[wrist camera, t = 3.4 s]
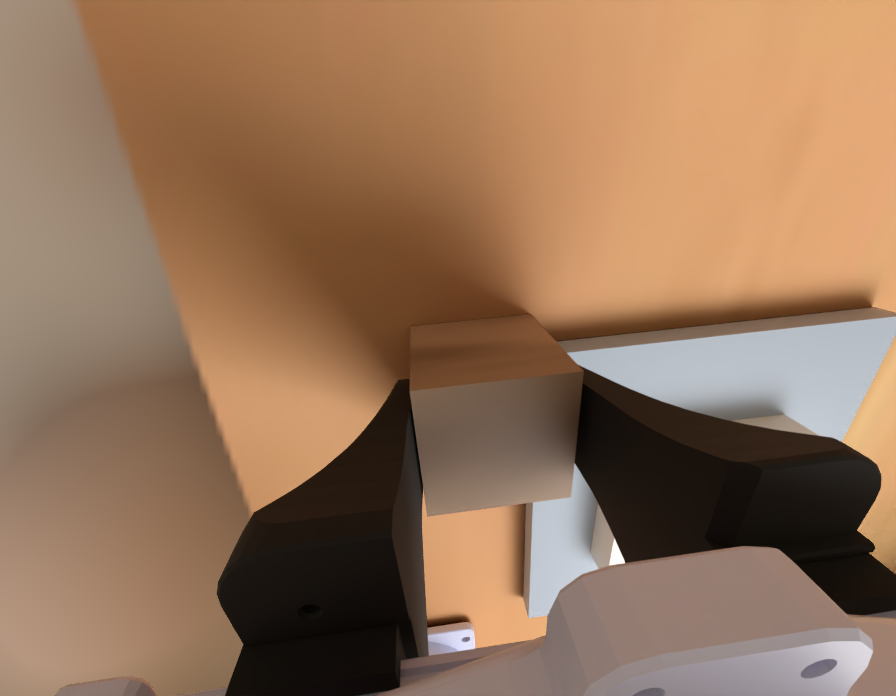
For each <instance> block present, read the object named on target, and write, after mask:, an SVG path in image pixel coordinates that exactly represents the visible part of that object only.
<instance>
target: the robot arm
mask: <svg viewBox="0 0 896 696" xmlns="http://www.w3.org/2000/svg"><path fill="white" fill-rule="evenodd" d="M578 366H579V367H580V368H581V369H582V370H583V371H584V374H583V384H582V394H581V404H580V414H579V423H578V433H577V443H576V453H575V464H576V466H577V468H578V469H579V471H580V473H581V474H582V476H583V478H584V479H585V481H586V483H587V484H588V486H589V487H590V489H591V491H592V493H593V495H594V496H595V498H596V500H597V502H598V504H599V506H600V508H601V510H602V513H603V515H604V517H605V519H606V521H607V523H608V525H609V527H610V530H611V532H612V534H613V536H614V539H615V541H616V543H617V545H618V548H619V550H620V552H621V554H622V557H623V559H624V561H625V563H623V564H616V565H610V566H607V567H603V568H600V569H597V570H594V571H591V572H587V573H584V574H581V575H580V576H579V577H577V578H576V579H575V580H573V581H572V582H571V583H569V584H568V585H566V586H565V587H564V588H562V589H561V590H560V591H559V593H558V595H557V597H556V599H555V601H554V603H553V605H552V607H551V609H550V612H549V614H548V617H547V630H546V635H545V636H542V637H539V638H536V639H534V640H528V641H522V642H515V643H509V644H502V645H496V646H489V647H483V648H476V649H475V639H474V629H473V625H472V624H471V623H469V622H462V623H455V624H449V625H442V626H435V627H429V628H427V616H426V598H425V580H424V561H423V540H422V498H423V482H422V475H421V468H420V461H419V454H418V447H417V440H416V433H415V426H414V419H413V412H412V405H411V398H410V379H404V380H398V382H397V383H396V384H395V386H394V388H393V390H392V391H391V393H390V395H389V396H388V398H387V400H386V401H385V403H384V404H383V406H382V407H381V408H380V410H379V411H378V413H377V414H376V416H375V417H374V418H373V420H372V421H371V422H370V423H369V425H368V426H367V427H366V428H365V430H364V431H363V432H362V433H361V434H360V435H359V437H358V438H357V439H356V440H355V441H354V442H353V443H352V444H351V445H350V446H349V447H348V448H347V449H346V450H345V451H343V452H342V453H341V454H340V455H339V456H338V457H336V458H335V459H334V460H333V461H332V462H331V463H329V464H328V465H327V466H326V467H325V468H323V469H322V470H321V471H319V472H318V473H317V474H315V475H314V476H313V477H311V478H310V479H308V480H307V481H305V482H304V483H302V484H301V485H300V486H298V487H297V488H295V489H293V490H292V491H290V492H289V493H287V494H285V495H284V496H282V497H280V498H279V499H277V500H275V501H273V502H272V503H270V504H268V505H267V506H265V507H263V508H261V509H260V510H258V511H256V512H254V513H253V515H252V517H251V519H250V520H249V522H248V524H247V525H246V527H245V529H244V530H243V532H242V534H241V536H240V538H239V540H238V542H237V544H236V546H235V548H234V550H233V552H232V554H231V556H230V558H229V561H228V563H227V565H226V567H225V569H224V571H223V573H222V575H221V577H220V579H219V581H218V589H217V595H218V599H219V601H220V604H221V607H222V608H223V610H224V612H225V614H226V615H227V617H228V619H229V620H230V622H231V624H232V626H233V627H234V629H235V631H236V632H237V634H238V636H239V637H240V639H241V641H242V643H243V644H244V645H243V647H242V650H241V653H240V656H239V658H238V661H237V664H236V666H235V669H234V672H233V675H232V677H231V680H230V683H229V686H228V687H224V688H217V689H211V690H204V691H198V692H191V693H185V694H179V695H172V696H896V575H895V574H894V573H893V572H892V571H890V570H889V569H888V568H887V567H885V566H884V565H883V564H882V563H880V562H879V561H878V560H877V559H875V558H874V557H873V556H872V555H870V554H869V553H870V552H873V551H874V549H875V546H874V544H873V543H872V542H871V541H870V540H869V539H867V538H866V537H865V536H863V535H862V534H861V533H859V532H858V531H857V529H858V527H859V526H860V524H861V523H862V521H863V519H864V518H865V516H866V514H867V513H868V511H869V509H870V508H871V506H872V505H873V503H874V501H875V499H876V497H877V495H878V493H879V491H880V488H881V473H880V471H879V468H878V466H877V464H875V463H874V462H873V461H872V460H870V459H869V458H867V457H866V456H864V455H862V454H861V453H859V452H857V451H856V450H854V449H852V448H851V447H849V446H847V445H846V444H844V443H842V442H841V441H839V440H837V439H835V438H832V437H825V436H817V435H810V434H803V433H796V432H789V431H781V430H775V429H769V428H764V427H759V426H753V425H748V424H743V423H738V422H734V421H729V420H725V419H721V418H717V417H713V416H709V415H705V414H701V413H697V412H694V411H691V410H687V409H684V408H681V407H678V406H675V405H672V404H669V403H665V402H662V401H660V400H657V399H654V398H651V397H649V396H646V395H644V394H641V393H639V392H637V391H634V390H632V389H629V388H627V387H625V386H622V385H620V384H618V383H616V382H614V381H611V380H609V379H607V378H605V377H603V376H601V375H599V374H597V373H595V372H593V371H590V370H588V369H586V368H584V367H582V366H580V365H578ZM55 696H157V695H156V693H155V691H154V689H153V687H152V686H151V685H150V684H149V683H148V682H146V681H145V680H143V679H141V678H137V677H117V678H110V679H103V680H97V681H90V682H83V683H77V684H71V685H66V686H64V687H62V688H60V689H59V690H58V692H57V693H56V695H55Z"/></svg>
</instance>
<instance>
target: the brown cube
mask: <svg viewBox="0 0 896 696" xmlns="http://www.w3.org/2000/svg"><path fill="white" fill-rule="evenodd" d="M583 374H584V371H583V370H582V369H581V368H580V367H579V366H578V364H577V363H576V362H575V361H574V360H573V359H572V358H571V357H570V356H569V355H568V354H567V353H566V352H565V350H564V349H563V348H562V347H561V346H560V345H559V344H558V343H557V342H556V341H555V340H554V339H553V338H552V336H551V335H550V334H549V333H548V332H547V331H546V330H545V329H544V328H543V327H542V326H541V325H540V324H539V322H538V321H537V320H536V319H535V318H534V317H533V316H532V315H531V314H524V315H514V316H505V317H495V318H486V319H476V320H466V321H457V322H447V323H438V324H428V325H419V326H410V398H411V405H412V412H413V419H414V426H415V433H416V440H417V447H418V454H419V461H420V468H421V475H422V482H423V489H424V496H425V503H426V510H427V517H428V516H435V515H442V514H450V513H457V512H465V511H472V510H480V509H487V508H495V507H502V506H510V505H517V504H525V503H532V502H540V501H547V500H554V499H562V498H569V497H571V493H572V483H573V473H574V463H575V453H576V443H577V433H578V423H579V414H580V404H581V394H582V384H583Z"/></svg>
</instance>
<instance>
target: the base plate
mask: <svg viewBox="0 0 896 696" xmlns="http://www.w3.org/2000/svg"><path fill="white" fill-rule="evenodd" d="M895 335H896V313H894V312H890V311H887V310H883V309H879V308H875V307H870V308H861V309H852V310H843V311H834V312H824V313H815V314H806V315H797V316H787V317H778V318H769V319H760V320H750V321H741V322H732V323H723V324H714V325H704V326H695V327H686V328H677V329H667V330H658V331H649V332H640V333H631V334H621V335H612V336H603V337H594V338H584V339H575V340H566V341H557V343H558V344H559V345H560V346H561V347H562V348H563V349H564V350H565V352H566V353H567V354H568V355H569V356H570V357H571V358H572V359H573V360H574V361H575V362H576V363H577V364H578V365H580V366H582V367H584V368H586V369H588V370H590V371H593V372H595V373H597V374H599V375H601V376H603V377H605V378H607V379H609V380H611V381H614V382H616V383H618V384H620V385H622V386H625V387H627V388H629V389H632V390H634V391H637V392H639V393H641V394H644V395H646V396H649V397H651V398H654V399H657V400H660V401H662V402H665V403H669V404H672V405H675V406H678V407H681V408H684V409H687V410H691V411H694V412H697V413H701V414H705V415H709V416H713V417H717V418H721V419H725V420H729V421H734V422H738V423H743V424H748V425H753V426H759V427H764V428H769V429H775V430H781V431H789V432H796V433H803V434H810V435H817V436H825V437H832V438H835V439H837V440H839V441H841V442H842V440H843V438H844V436H845V434H846V432H847V430H848V428H849V426H850V425H851V423H852V421H853V419H854V417H855V415H856V413H857V411H858V409H859V407H860V405H861V403H862V401H863V399H864V397H865V395H866V393H867V391H868V389H869V387H870V385H871V383H872V381H873V379H874V377H875V375H876V373H877V371H878V369H879V367H880V365H881V363H882V361H883V359H884V357H885V355H886V353H887V351H888V349H889V347H890V345H891V343H892V341H893V339H894V337H895ZM623 563H625V561H624V559H623V557H622V554H621V552H620V550H619V548H618V545H617V543H616V541H615V539H614V536H613V534H612V532H611V530H610V527H609V525H608V523H607V521H606V519H605V517H604V515H603V513H602V510H601V508H600V506H599V504H598V502H597V500H596V498H595V496H594V495H593V493H592V491H591V489H590V487H589V486H588V484H587V483H586V481H585V479H584V478H583V476H582V474H581V473H580V471H579V469H578V468H577V466H576V464H575V463H574V473H573V483H572V493H571V497H569V498H562V499H554V500H547V501H540V502H532V503H526V516H525V554H524V592H523V599H524V603H525V607H526V610H527V614H528V618H533V617H539V616H546V615H548V614H549V612H550V609H551V607H552V605H553V603H554V601H555V599H556V597H557V595H558V593H559V591H560V590H561V589H562V588H564V587H565V586H566V585H568V584H569V583H571V582H572V581H573V580H575V579H576V578H577V577H579V576H580V575H581V574H584V573H587V572H591V571H594V570H597V569H600V568H603V567H607V566H610V565H616V564H623Z"/></svg>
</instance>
